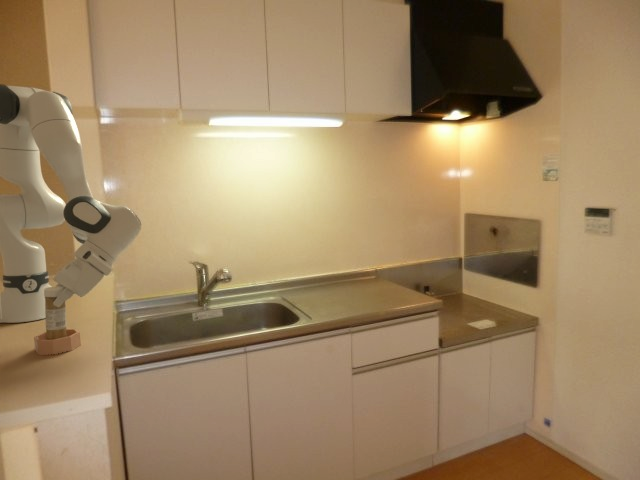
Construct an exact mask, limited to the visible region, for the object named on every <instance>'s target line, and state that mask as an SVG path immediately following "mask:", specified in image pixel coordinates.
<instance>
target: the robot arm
mask: <svg viewBox="0 0 640 480" xmlns="http://www.w3.org/2000/svg"><path fill="white" fill-rule="evenodd" d="M41 155H42V156H43V158H44V160H45V161H46V162H47V164H48V165H49V167H51V169H52V171H53V172H54V173H55V175H56V176H57V178H58V179H59V181H60V182H61V185H62V186H63V189H64V192H65V194H66V197H67V200H68V201H67V203H66V202H65V201H64V199H63V198H61V197H60V196H59V195H58V194H56V193H55V192H53V191H52V190H51V189H50V187H49V186H48V185H47V183H46V182H45V179H44V176H43V173H42V167H41ZM86 173H87V172H86V167H85V159H84V151H83V144H82V139H81V134H80V131H79V129H78V125H77V123H76V120H75V117H74V115H73V106H72V103H71V102H70V100H69V98H68V97H67V96H65V95H64V94H62V93H59V92H56V91H48V90H45V89H42V88H41V89H40V88H37V87H31V86H28V87H27V86H20V85H19V86H17V85H6V84H5V83H4V84H3V83H0V178H2V179H4V181H7V182H9V183H12V184H14V185H17V186H19V188H20V191H21V192H20V193H19V194H17V193H15V194H14V193H13V194H11V193H10V194H7V193H6V194H5V193H3V194H2V193H1V194H0V255H1V260H2V267H3V275H2V279H1V280H2V287H3V290H2V292H0V323H5V324H6V323H8V324H12V323H13V324H15V323H24V322H25V323H26V322H32V321H34V322H35V321H38V320H44V319H46V316H45V308H46V307H45V296H44V289H45V288H48V287H53V286H52V285H50V283H49V282H50V274H49V271H47V262H46V251H45V248H44V247H43V246H42V244H40V243H39V242H36V241H34V240H31V239H28V238H25V237H24V236H23V235H22V232H21V231H22V230H30V229H31V230H32V229H47V228H52V227H57V226H60V225H61V226H62V225H63V223H64V222H66V224H67V226H68V228H69V229H70V231H71V232H72V235H73V237H74V239H75V240H76V241H77V242H78V243H81V245H80V246H79V247H78V248H77V249H76V250H75V251H74V252H73V253H72V254H73V256H74V257H75V258H72V259H71V260H70V261H69V262H67V264H65V266H63V267H62V269H60V270H59V271H58V272H57V273H56V274H55V276H54V277H53V279H52V280H53V282H55V283H57V285H56V286H61V287H65V289H64V290H63V291H62V293H61V294H60V295H59V296H58V297H56V298H55V299H54V300H53V301H52V304H53V305H55V306H56V307H60V306H61V305H62V304H63V303H64V302H65V303H66V302H67V301H68V300H69V299H71V298H72V297H73V296H74V295H76V296H78V297H80V298H83V297H85V296H86V295H87V294H89V293H90V292H91V291H92V290H93V289H94V288H95V287H96V286H97V285H98V284H99V283H100V282H101V280H103V279H104V277H105V276H107V277H108V276H110V274H111V272H113V265H114V263H115V262H116V261H117V260H118V258H119V256H120V254H121V253H122V252H124V251H126V250H127V249H128V248H129V246H130V245H131V244H133V242H134V241H135V239H136V238H137V237H138V235H139V233H140V232H141V230H142V222H141V220H140V218H139V217H138V215H137V214H136V213H135V212H134V210H132V209H131V208H129V207H128V206H125V205H113V204H109V203H106V202H103V201H100V200H97V199H96V198H94V195H93V193H92V190H91V186H90V184H89V181H88V177H87V174H86Z"/></svg>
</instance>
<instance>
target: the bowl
mask: <svg viewBox="0 0 640 480" xmlns="http://www.w3.org/2000/svg"><path fill="white" fill-rule="evenodd" d="M66 336H67V337H64V338H59V339H54V340H46V339H47V336H46V331H44V332H41V333H40V334H39V333H38V334H37V335H35V336H34V337H33V339H34V350H35V352H36V354H37V355H38V356H39V355H41V356H42V355H45V356H49V355H50V356H53V354H55V355H58V353H59V354H62V352H63V353H67V352H66V351H68V352H72V351H73V349H74V350H75V349H77V348H78V347H80V346H81V345H82V344H81V343H82V342H81V331H80V330H78V329H77V328H66ZM48 354H49V355H48ZM51 354H52V355H51Z"/></svg>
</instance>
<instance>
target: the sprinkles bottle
mask: <svg viewBox="0 0 640 480" xmlns="http://www.w3.org/2000/svg"><path fill="white" fill-rule="evenodd" d="M64 289H65V287H61V286H57V285H56V286H52V287H48V288H45V289H44V296H45V307H46V308H45V316H46V318H45V329H46V330H45V332H46V336H47V339H46V340H54V339H59V338H64V337H67V336H66V329H67V311H66V310H67V308H66V301H65V302H64V303H63V304H62V305H61V306H60V307H56V306H55V305H53V304H52V301H53V300H54V299H55V298H56V297H58V296H59V295H60V294H61V293H62V291H63V290H64Z"/></svg>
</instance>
